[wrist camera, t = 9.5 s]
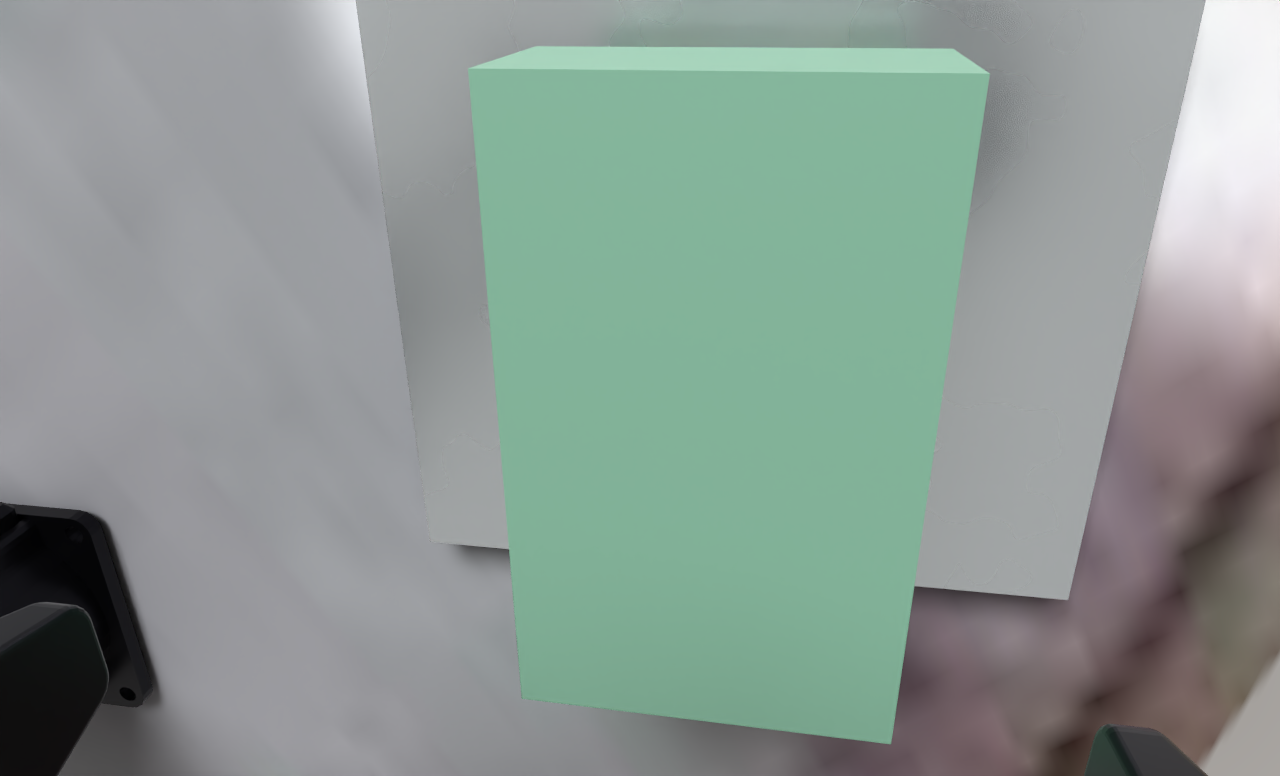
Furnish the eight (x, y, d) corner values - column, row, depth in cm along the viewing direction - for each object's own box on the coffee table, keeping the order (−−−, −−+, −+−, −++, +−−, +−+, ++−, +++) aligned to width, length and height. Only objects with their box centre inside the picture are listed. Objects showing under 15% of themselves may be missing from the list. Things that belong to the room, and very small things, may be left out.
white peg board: (1054, 565, 20) (1101, 685, 17) (448, 513, 22) (385, 610, 19) (1185, -37, 15) (1291, -36, 12) (380, -26, 17) (278, -20, 14)
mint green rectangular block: (879, 620, 17) (890, 743, 14) (565, 588, 18) (521, 698, 15) (953, 48, 13) (989, 73, 10) (535, 46, 14) (467, 68, 11)
